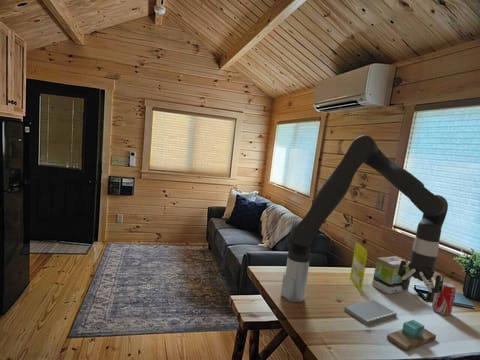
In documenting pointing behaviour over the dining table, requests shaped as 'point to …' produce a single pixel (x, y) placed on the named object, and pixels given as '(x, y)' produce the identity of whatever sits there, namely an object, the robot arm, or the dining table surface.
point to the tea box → (388, 275)
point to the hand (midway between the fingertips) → (416, 295)
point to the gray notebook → (370, 312)
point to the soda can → (444, 299)
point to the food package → (358, 266)
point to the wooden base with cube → (411, 335)
